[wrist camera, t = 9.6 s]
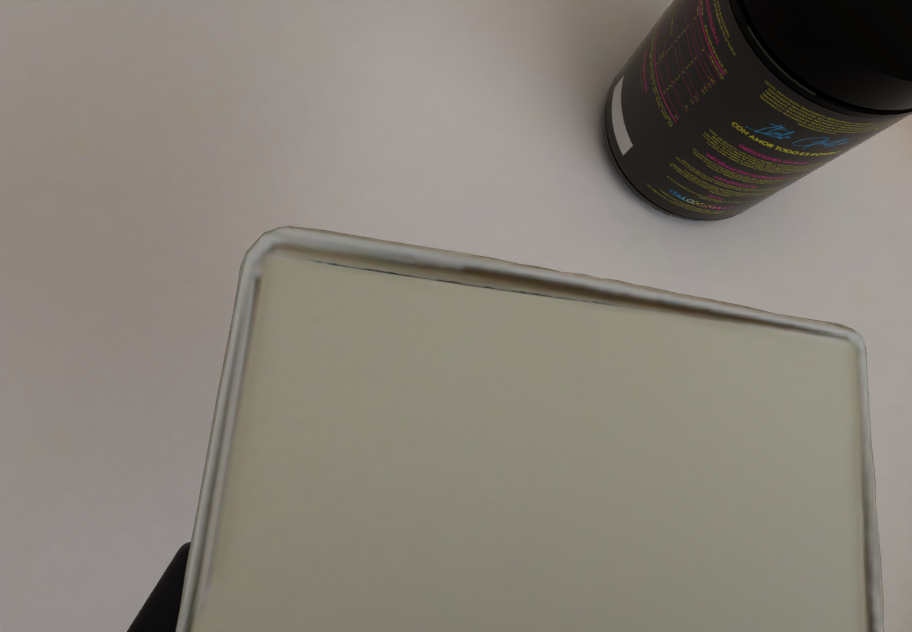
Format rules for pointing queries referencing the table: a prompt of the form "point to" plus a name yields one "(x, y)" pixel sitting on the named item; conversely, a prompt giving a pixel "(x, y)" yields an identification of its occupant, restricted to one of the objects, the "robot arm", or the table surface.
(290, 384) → the cosmetic box
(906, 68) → the supplement container
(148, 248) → the table surface
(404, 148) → the table surface
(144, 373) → the table surface
